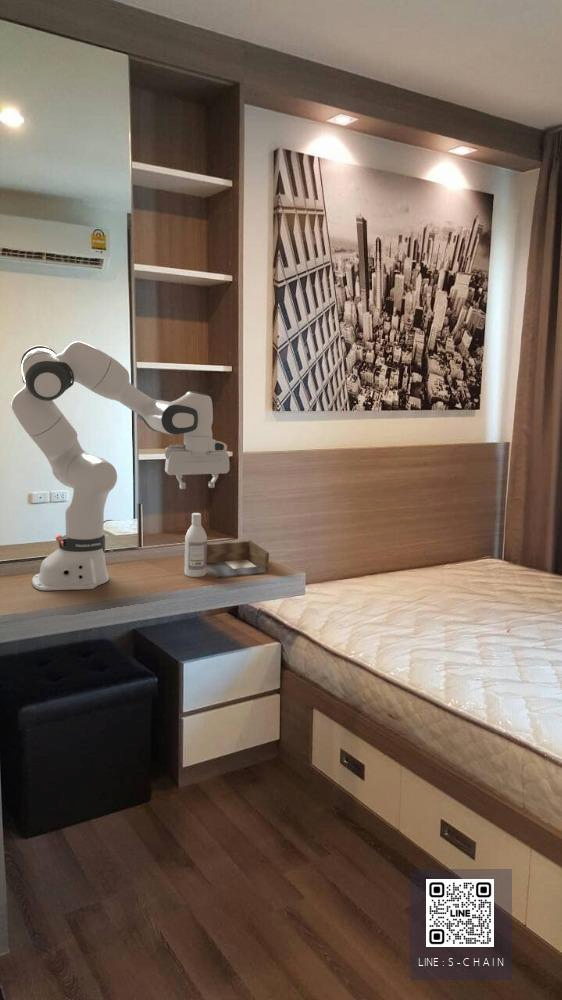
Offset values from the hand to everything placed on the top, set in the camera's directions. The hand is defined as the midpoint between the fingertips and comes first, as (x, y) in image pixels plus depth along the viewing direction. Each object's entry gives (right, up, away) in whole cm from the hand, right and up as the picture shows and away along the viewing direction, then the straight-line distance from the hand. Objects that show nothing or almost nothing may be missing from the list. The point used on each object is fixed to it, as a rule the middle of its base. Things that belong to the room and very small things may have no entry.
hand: (197, 488), depth 226 cm
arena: (+11, -27, +13) cm, 32 cm away
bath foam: (-1, -28, +6) cm, 29 cm away
